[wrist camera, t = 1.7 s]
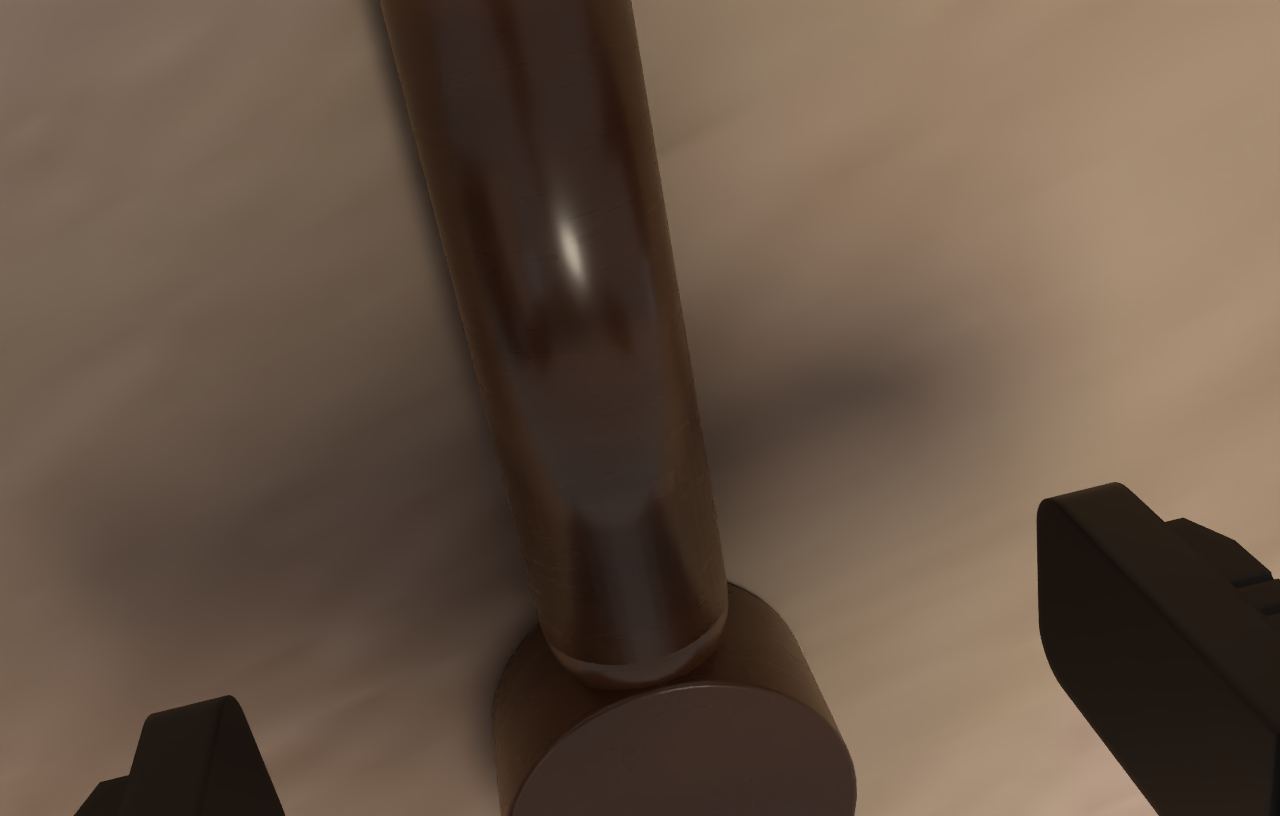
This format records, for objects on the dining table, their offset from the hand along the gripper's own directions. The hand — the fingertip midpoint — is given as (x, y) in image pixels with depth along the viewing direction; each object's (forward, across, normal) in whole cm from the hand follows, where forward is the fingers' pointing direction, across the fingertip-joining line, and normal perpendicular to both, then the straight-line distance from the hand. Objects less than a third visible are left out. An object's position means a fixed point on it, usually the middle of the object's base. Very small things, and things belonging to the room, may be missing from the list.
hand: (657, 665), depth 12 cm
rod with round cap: (+5, 0, 0) cm, 5 cm away
